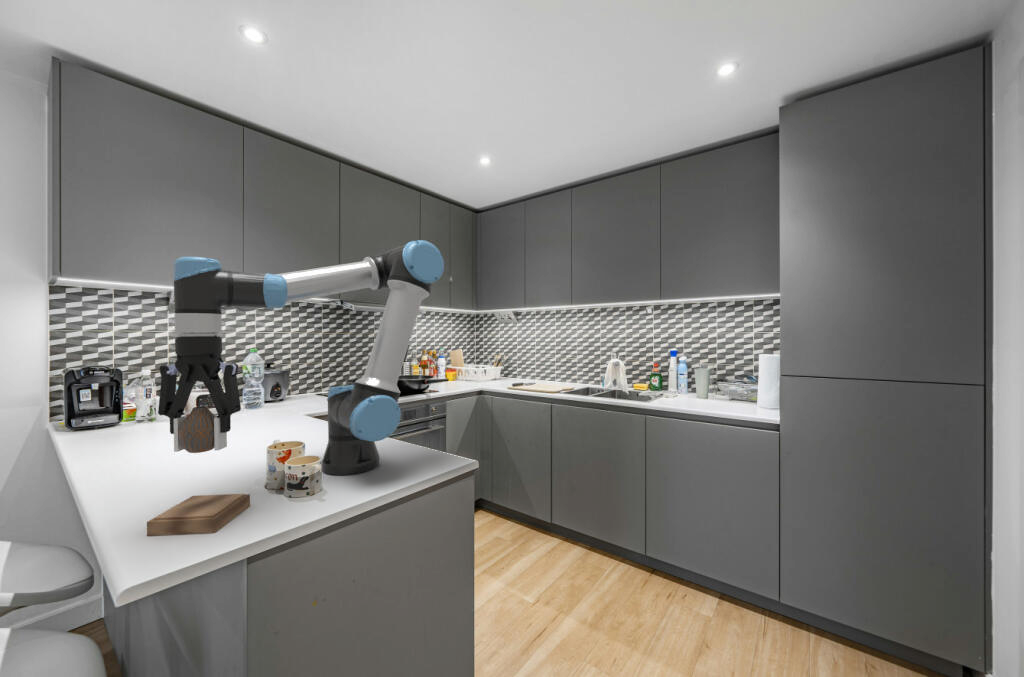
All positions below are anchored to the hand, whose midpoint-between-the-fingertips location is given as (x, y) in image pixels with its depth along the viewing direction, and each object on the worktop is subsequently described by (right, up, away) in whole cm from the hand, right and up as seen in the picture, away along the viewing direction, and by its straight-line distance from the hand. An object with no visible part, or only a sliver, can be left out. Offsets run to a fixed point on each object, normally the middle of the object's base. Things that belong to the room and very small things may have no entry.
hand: (201, 448), depth 83 cm
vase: (0, -1, 0) cm, 1 cm away
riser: (0, -14, 0) cm, 14 cm away
